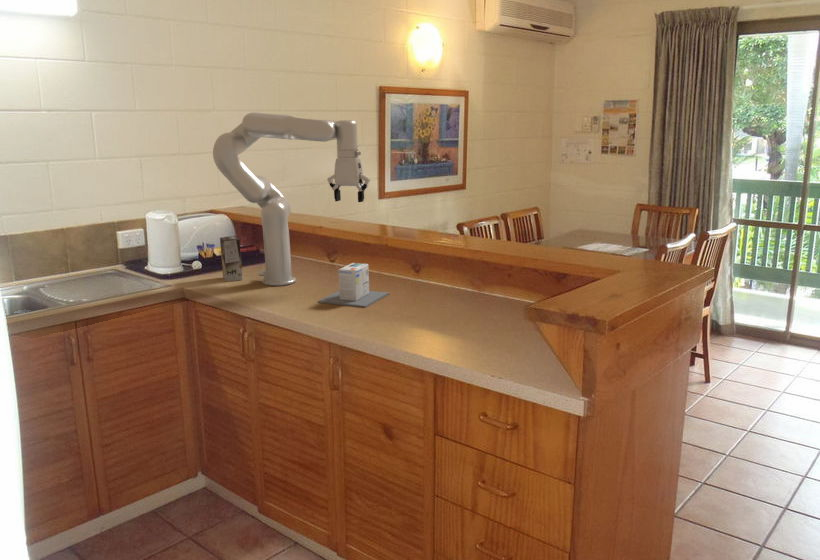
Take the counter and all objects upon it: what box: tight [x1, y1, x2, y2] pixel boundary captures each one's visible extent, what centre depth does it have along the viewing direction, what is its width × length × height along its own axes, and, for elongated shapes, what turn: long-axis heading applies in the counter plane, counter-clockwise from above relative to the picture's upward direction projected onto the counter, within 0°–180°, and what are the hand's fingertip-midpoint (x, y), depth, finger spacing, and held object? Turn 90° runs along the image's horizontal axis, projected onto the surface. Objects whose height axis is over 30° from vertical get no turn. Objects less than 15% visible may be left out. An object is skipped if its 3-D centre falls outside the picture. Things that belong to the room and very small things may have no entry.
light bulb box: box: [337, 262, 370, 301], centre depth 235 cm, size 11×7×11 cm, turn 158°
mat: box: [317, 290, 389, 309], centre depth 236 cm, size 18×18×1 cm
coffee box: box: [219, 235, 244, 282], centre depth 266 cm, size 9×6×16 cm
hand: (349, 201), depth 255 cm, fingers open, 9 cm apart
